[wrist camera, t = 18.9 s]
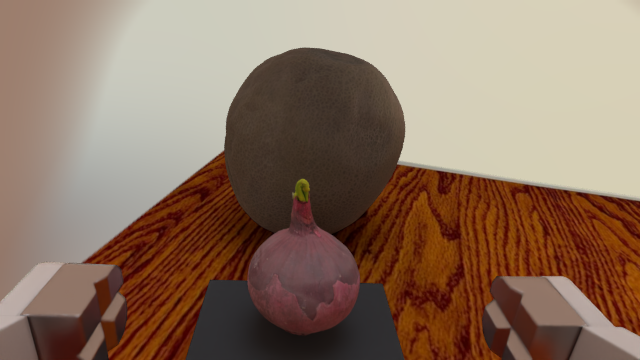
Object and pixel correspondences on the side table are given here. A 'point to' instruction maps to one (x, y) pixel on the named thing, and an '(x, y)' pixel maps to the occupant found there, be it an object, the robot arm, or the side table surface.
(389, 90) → the coconut
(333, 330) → the mat
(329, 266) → the vegetable
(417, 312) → the side table surface
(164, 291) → the side table surface
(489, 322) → the robot arm
